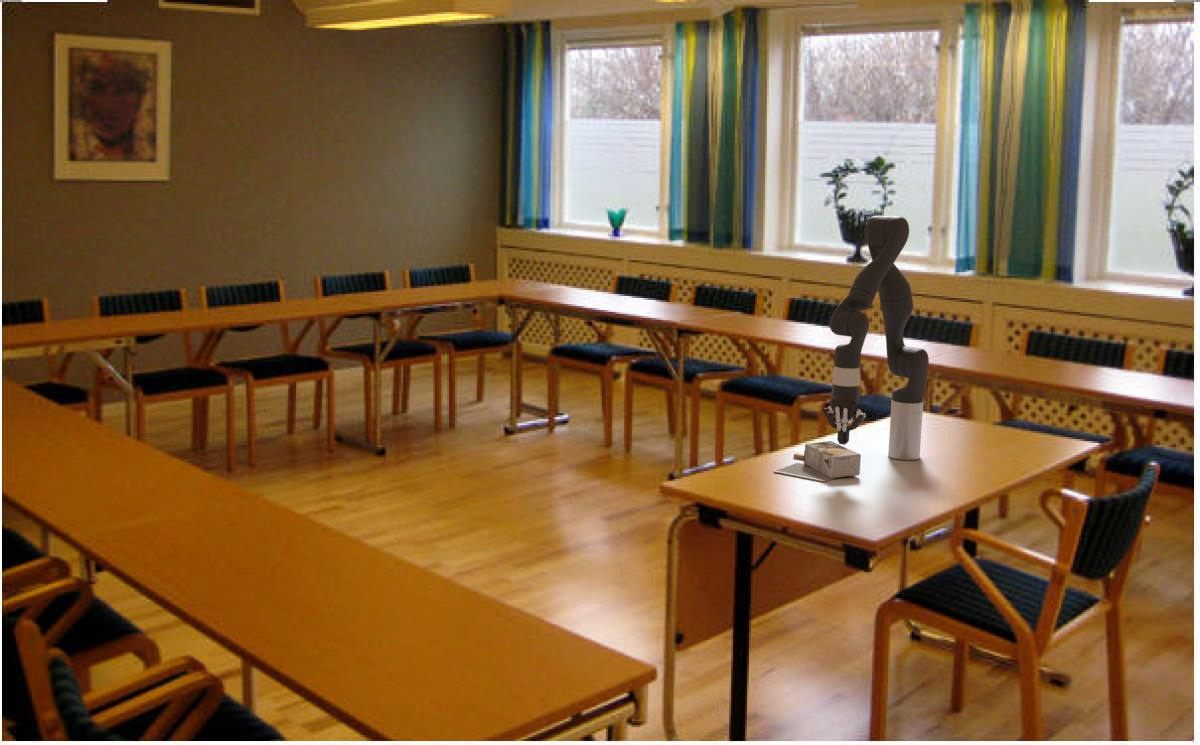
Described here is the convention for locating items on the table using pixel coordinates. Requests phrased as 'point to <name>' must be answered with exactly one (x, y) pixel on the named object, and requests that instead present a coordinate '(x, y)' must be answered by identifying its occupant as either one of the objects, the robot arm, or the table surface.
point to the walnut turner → (799, 456)
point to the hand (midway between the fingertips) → (842, 443)
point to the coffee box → (832, 459)
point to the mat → (803, 472)
